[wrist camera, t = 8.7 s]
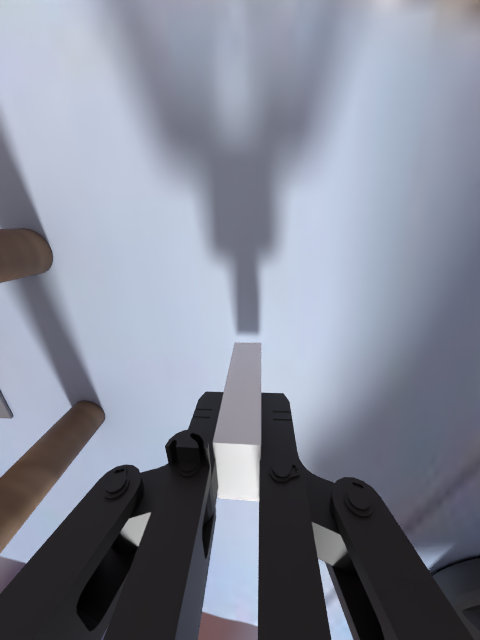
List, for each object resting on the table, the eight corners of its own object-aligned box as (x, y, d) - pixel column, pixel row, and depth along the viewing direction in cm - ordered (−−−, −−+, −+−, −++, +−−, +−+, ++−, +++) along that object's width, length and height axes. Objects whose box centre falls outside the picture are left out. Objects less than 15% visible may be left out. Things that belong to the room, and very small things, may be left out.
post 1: (100, 401, 18) (-61, 582, 9) (108, 426, 19) (-30, 612, 10) (69, 400, 19) (-120, 575, 9) (78, 425, 20) (-83, 605, 10)
